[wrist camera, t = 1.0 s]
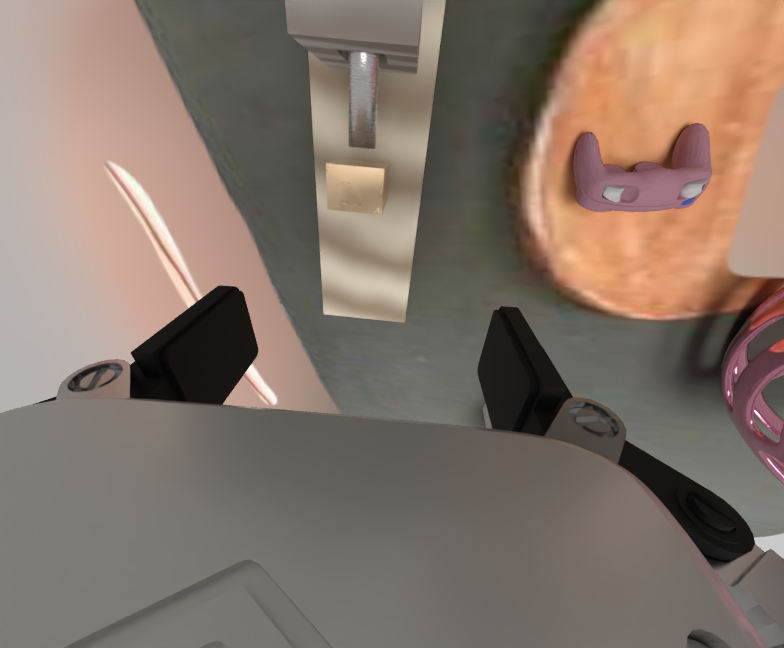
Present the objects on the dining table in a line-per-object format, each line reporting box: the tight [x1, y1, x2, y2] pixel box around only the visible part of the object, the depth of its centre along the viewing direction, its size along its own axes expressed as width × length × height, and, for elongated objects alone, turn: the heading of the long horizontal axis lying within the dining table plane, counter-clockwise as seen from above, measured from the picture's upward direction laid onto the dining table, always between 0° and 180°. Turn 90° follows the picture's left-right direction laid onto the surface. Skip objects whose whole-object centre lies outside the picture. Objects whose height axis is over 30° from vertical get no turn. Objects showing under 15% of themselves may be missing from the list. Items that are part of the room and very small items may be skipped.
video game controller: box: [573, 123, 712, 212], centre depth 24 cm, size 10×5×7 cm, turn 94°
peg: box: [326, 51, 390, 215], centre depth 19 cm, size 16×4×6 cm, turn 175°
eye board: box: [285, 0, 446, 323], centre depth 23 cm, size 32×10×10 cm, turn 175°
